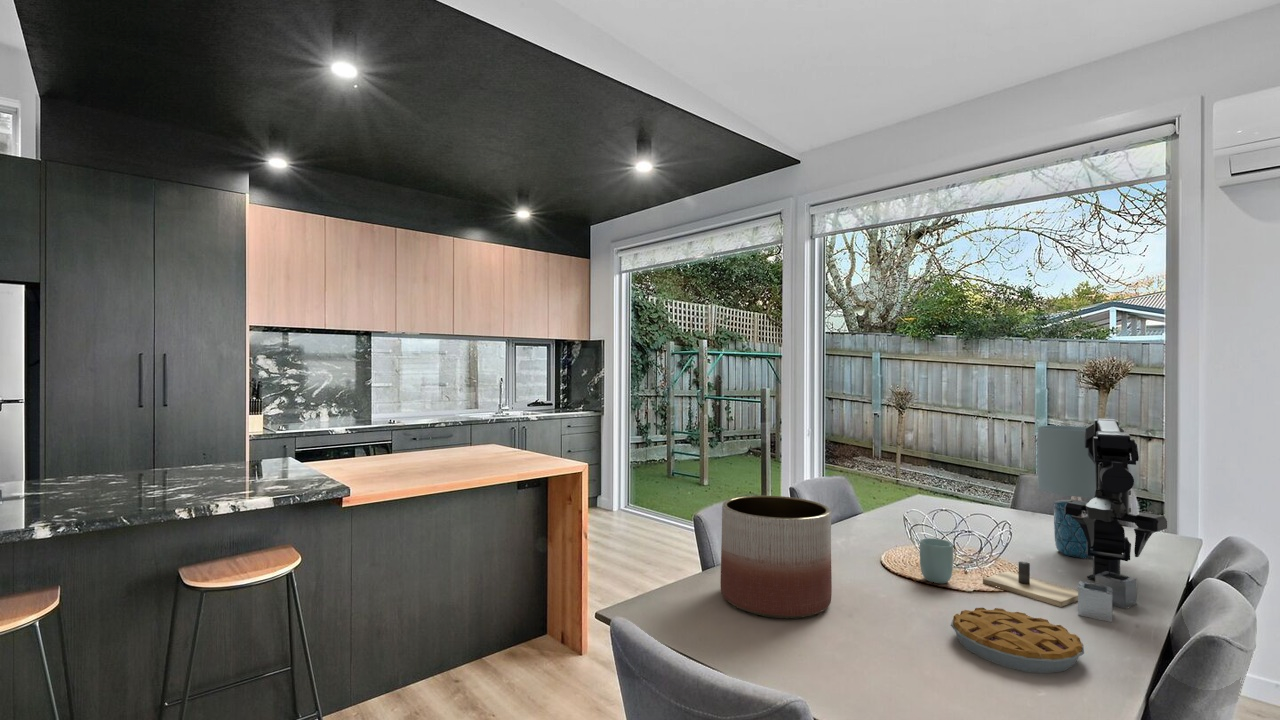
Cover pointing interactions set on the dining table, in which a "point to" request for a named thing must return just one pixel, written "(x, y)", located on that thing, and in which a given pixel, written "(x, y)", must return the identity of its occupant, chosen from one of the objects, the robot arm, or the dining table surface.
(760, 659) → the dining table surface
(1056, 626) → the pie
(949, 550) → the cup
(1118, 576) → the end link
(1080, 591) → the grey open cube box
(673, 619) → the dining table surface
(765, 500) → the planter
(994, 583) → the board
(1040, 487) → the lamp
